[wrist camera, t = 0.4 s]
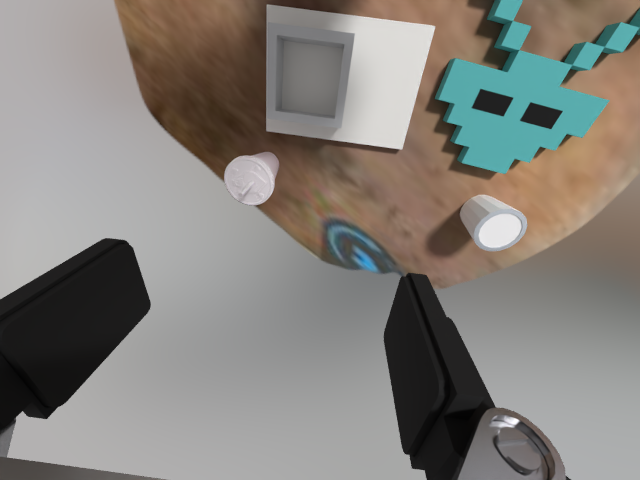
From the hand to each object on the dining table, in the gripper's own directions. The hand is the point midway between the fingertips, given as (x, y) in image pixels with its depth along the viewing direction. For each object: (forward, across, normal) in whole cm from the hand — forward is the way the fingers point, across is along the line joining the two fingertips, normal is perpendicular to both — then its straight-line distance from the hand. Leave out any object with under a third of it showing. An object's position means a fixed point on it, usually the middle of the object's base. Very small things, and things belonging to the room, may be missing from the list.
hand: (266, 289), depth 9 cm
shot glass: (+34, -26, +8) cm, 44 cm away
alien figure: (+34, -25, -9) cm, 43 cm away
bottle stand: (+34, -2, -8) cm, 34 cm away
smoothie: (+34, +9, +4) cm, 35 cm away
